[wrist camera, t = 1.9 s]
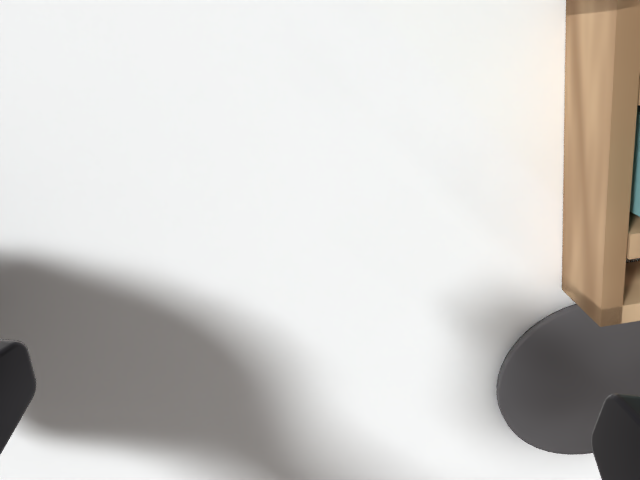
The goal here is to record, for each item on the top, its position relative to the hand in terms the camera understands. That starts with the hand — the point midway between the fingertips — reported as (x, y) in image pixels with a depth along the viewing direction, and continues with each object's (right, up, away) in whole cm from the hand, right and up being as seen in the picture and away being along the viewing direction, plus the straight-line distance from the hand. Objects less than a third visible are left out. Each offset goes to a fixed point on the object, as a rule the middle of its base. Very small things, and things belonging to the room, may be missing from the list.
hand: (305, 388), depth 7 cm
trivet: (+13, -5, +15) cm, 21 cm away
